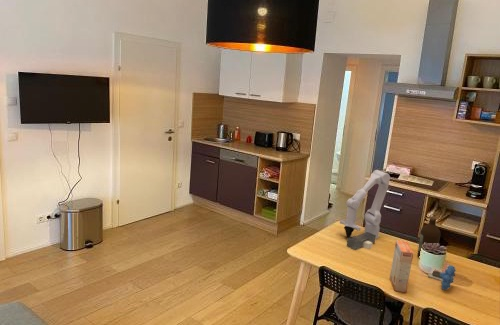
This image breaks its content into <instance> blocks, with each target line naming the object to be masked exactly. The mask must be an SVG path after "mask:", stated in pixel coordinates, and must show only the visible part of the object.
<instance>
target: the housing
mask: <svg viewBox="0 0 500 325" xmlns="http://www.w3.org/2000/svg"><path fill="white" fill-rule="evenodd" d="M375 238H376V235H374V234H371V233H369V232H366V233H364V232H363V233H359V234H357V235H356V234H355V235H354V236H352V237H350V238H347V242H346V247H347V248H350V249H351V250H353V251H357V250H360V249H362V248H363V247H362V245H363V241H366V240H367V241H370V242H372V245H374V244H375V242H376V239H377V238H376V239H375Z"/></svg>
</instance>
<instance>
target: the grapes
mask: <svg viewBox="0 0 500 325" xmlns="http://www.w3.org/2000/svg"><path fill="white" fill-rule="evenodd" d="M447 268H448V269H446V270H445V273H444V272H442V273H440V277H441V278H442V279H443V281H442V282H441V281H440V284H441V288H442V290H444V291H446V290H449V288H451V287H452V286H451V284H452V283H454V277H456V273H455V272H457V270H456V268H455V266H453V265H451V264H450V266H448V267H447Z"/></svg>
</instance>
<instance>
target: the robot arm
mask: <svg viewBox="0 0 500 325" xmlns="http://www.w3.org/2000/svg"><path fill="white" fill-rule="evenodd" d="M390 181H391V176H390V174H389V173H388V172H384V171H382V170H379V169H375V170H373V171H372V173H371V174H370V178H369V179H368V181H367V182H366V183H364V186H363V187H362V188H361V189H360V188H359V189H358V190H357V191H356V192H355V194H354V195H352V197H350V198H348V199H347V200H346V202H345V205H346V218H345V220H343V219H340V220H339V224H340V225H344V227H343V229H344V231H345V235H346V236H345V237H346V239H348V238H349V236H352V234H353V232H354V231H355V230H356V231H357V232H359V231H360V232H361V227H360V226H359V225H357V224H356V218H357V210H358V209H359V207H360V205H361V202H362V201H363V200H364V199H365V197H366V196H367V193H368V191H370V190H371V188H373V187H374V186H375V185H377V184H378V188H377V190H376V194H375V196H374V199H373V202H372V205H371V207H370V208H369V209H367V211H366V212H365V214H364V215H363V221H365V226H364V231H363V233H366V232H369V233H371V234H374V235H376V238H375V240H376V239H378V238H380V236H379V235H380V230H381V229H380V228H381V227H380V224H381V222H382V221H381V220H382V219H381V218H382V214H381V212H380V211H381V208H382V205H383V202H384V199H385V196H386V194H387V191H388V189H389V185H390Z"/></svg>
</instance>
